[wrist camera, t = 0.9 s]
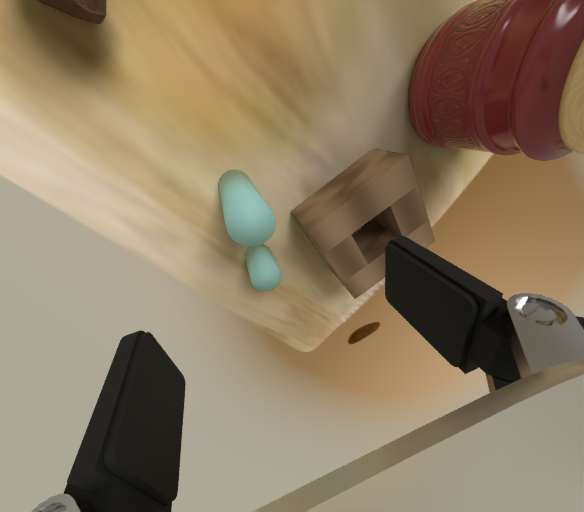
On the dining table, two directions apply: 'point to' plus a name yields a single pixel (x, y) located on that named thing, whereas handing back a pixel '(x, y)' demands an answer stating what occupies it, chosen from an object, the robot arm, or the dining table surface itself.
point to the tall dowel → (245, 210)
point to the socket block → (365, 217)
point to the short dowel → (262, 268)
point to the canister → (504, 79)
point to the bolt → (80, 8)
